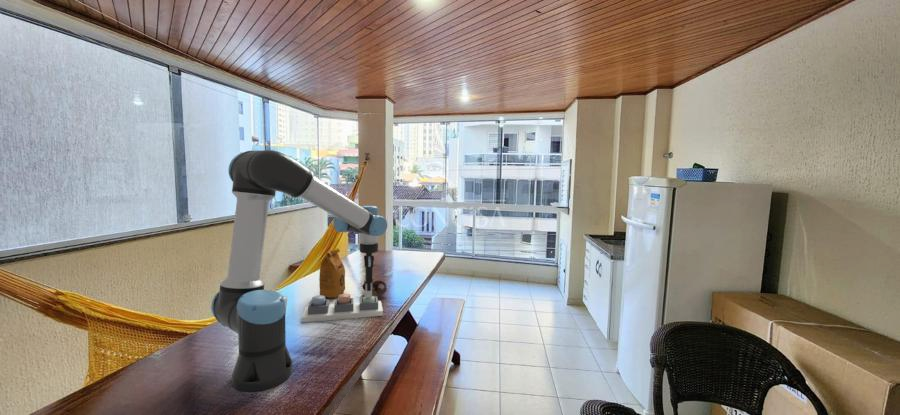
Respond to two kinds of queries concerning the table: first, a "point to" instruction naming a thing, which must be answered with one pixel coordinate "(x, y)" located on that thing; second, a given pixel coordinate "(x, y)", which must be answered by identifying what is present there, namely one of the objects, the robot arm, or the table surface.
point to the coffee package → (332, 275)
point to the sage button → (369, 299)
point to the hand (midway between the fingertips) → (368, 297)
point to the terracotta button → (344, 298)
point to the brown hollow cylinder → (377, 288)
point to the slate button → (318, 300)
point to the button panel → (342, 310)
